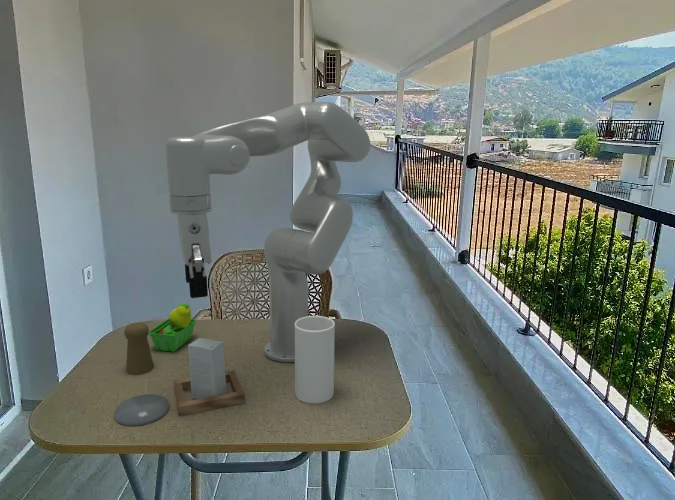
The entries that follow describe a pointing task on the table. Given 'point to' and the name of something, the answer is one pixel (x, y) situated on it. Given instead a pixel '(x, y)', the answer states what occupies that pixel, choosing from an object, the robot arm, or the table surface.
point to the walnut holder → (209, 402)
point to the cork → (138, 349)
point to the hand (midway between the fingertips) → (196, 289)
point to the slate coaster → (141, 410)
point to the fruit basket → (174, 329)
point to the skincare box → (207, 368)
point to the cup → (314, 359)
